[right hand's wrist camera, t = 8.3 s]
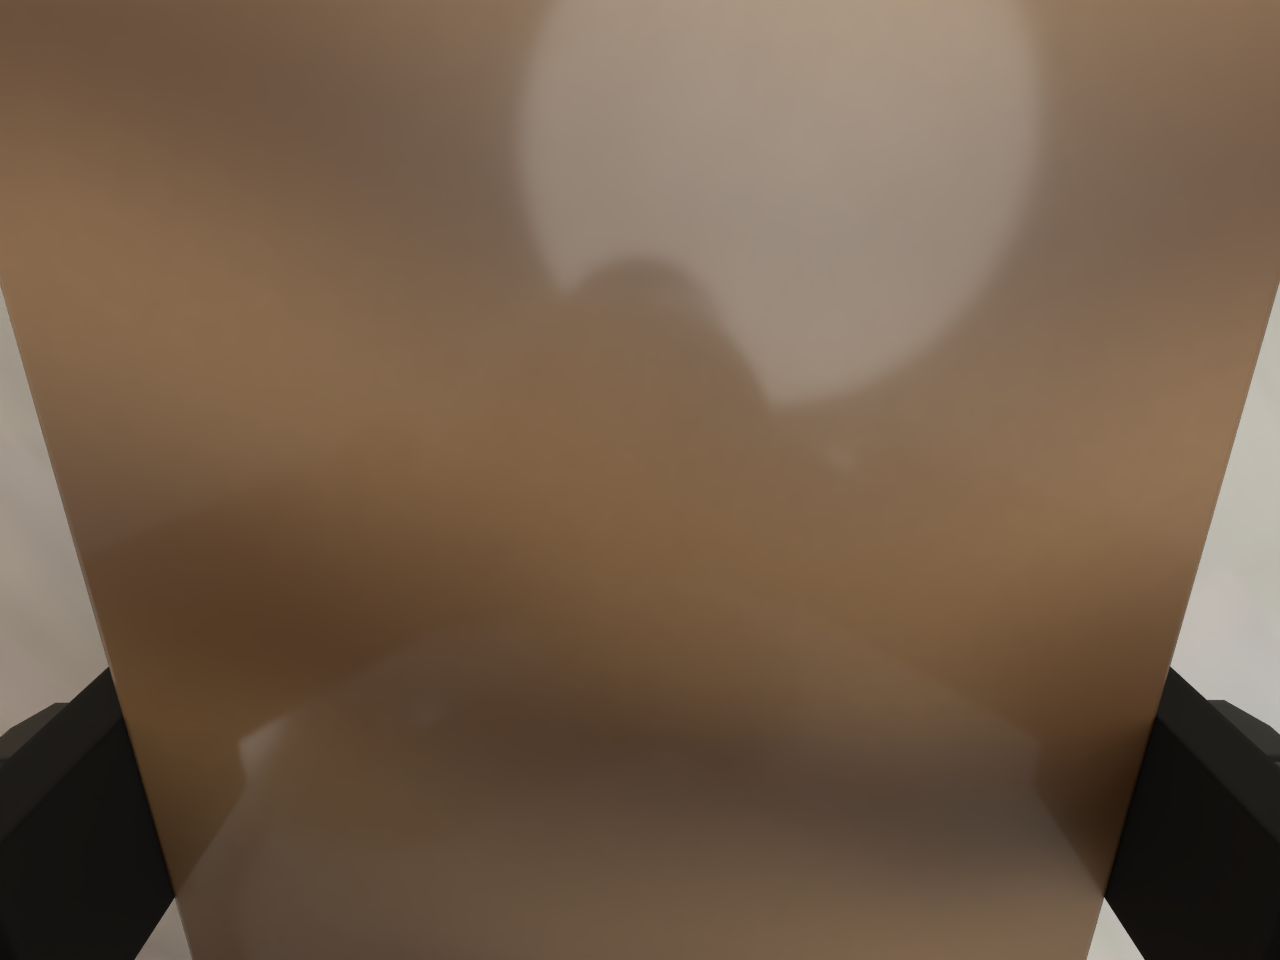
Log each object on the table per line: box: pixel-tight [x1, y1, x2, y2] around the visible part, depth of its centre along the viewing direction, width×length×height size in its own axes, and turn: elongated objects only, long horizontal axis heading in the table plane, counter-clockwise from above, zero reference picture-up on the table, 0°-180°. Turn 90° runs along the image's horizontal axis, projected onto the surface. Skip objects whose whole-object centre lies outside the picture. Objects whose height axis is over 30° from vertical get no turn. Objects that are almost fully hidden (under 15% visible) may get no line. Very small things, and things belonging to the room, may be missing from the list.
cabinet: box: [0, 0, 1280, 960], centre depth 11 cm, size 22×12×10 cm, turn 0°
